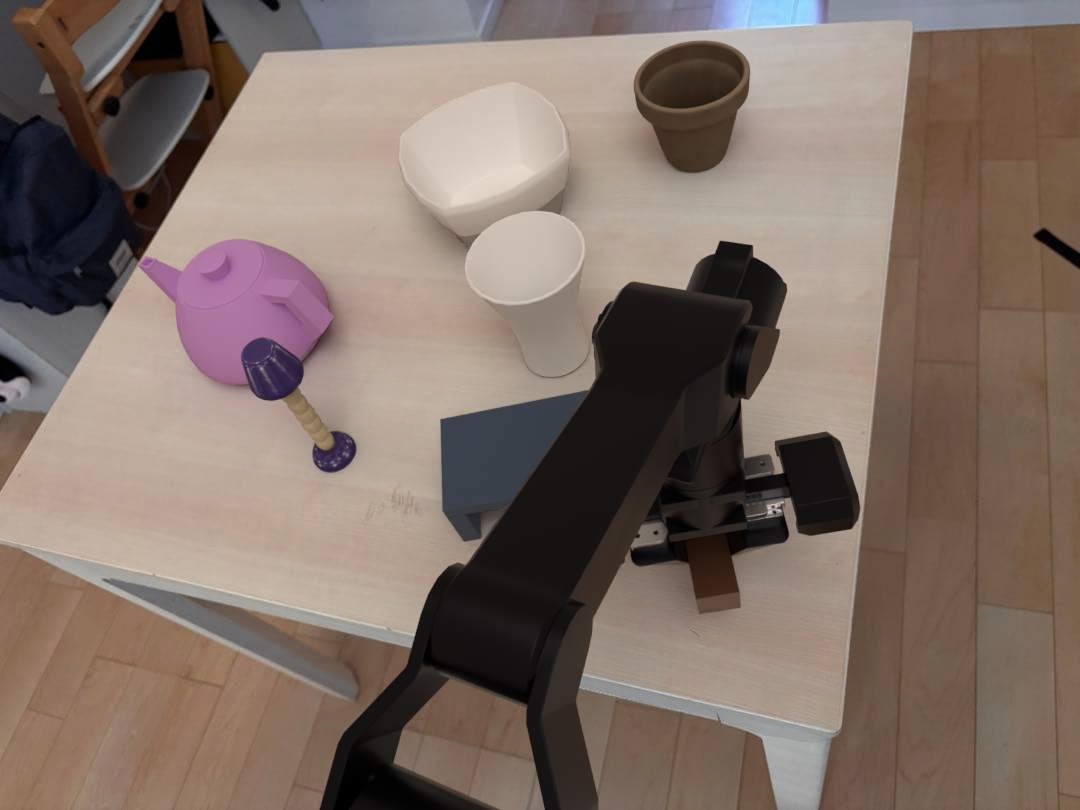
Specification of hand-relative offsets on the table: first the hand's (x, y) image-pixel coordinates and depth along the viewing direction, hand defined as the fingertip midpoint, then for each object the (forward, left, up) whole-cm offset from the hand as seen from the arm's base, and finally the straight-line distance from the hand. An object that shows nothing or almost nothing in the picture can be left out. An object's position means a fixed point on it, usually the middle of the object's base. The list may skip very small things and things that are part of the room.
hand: (708, 553), depth 63 cm
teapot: (+36, +41, -6) cm, 55 cm away
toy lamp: (+19, +32, -6) cm, 38 cm away
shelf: (+12, +10, -6) cm, 17 cm away
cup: (+26, +10, -6) cm, 29 cm away
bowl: (+47, +14, -6) cm, 49 cm away
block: (0, 0, -1) cm, 1 cm away
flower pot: (+49, -8, -6) cm, 50 cm away
